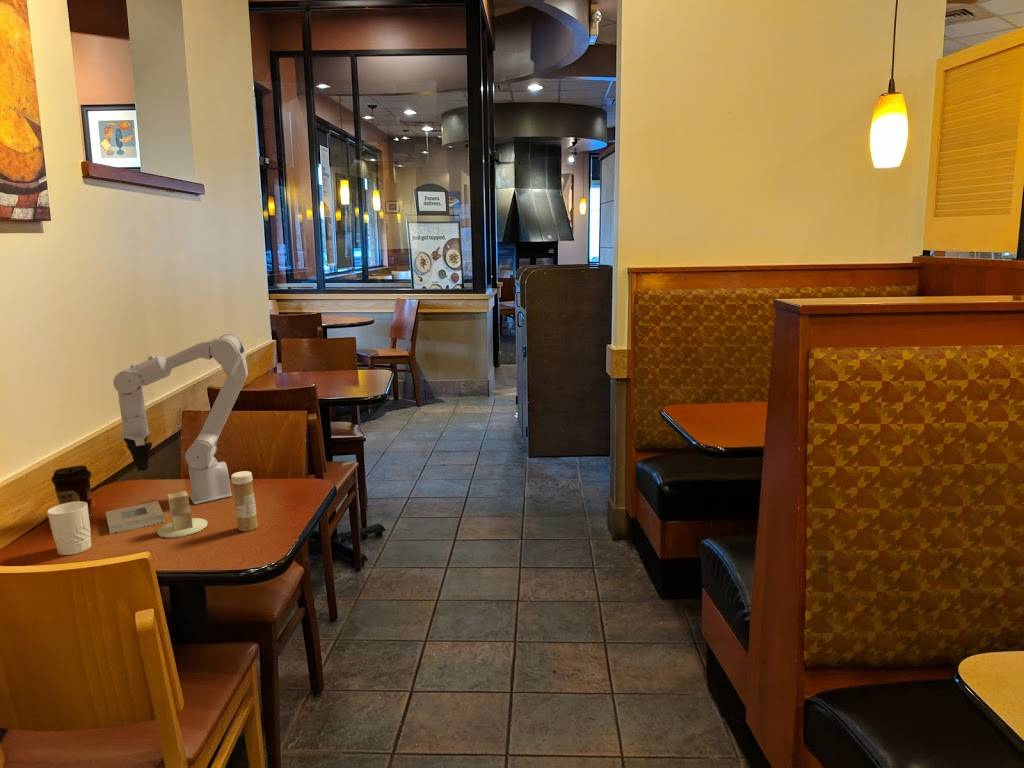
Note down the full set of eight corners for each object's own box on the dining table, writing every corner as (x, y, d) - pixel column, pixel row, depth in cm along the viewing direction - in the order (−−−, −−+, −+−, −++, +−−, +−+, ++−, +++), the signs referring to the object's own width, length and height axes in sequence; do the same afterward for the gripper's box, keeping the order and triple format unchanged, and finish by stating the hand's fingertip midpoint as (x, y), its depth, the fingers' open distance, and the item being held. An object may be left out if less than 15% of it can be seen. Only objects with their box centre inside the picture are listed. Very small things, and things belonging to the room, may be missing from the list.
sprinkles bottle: (234, 529, 179) (226, 474, 176) (251, 523, 182) (244, 469, 179) (245, 533, 176) (237, 477, 173) (262, 526, 179) (255, 472, 176)
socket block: (158, 508, 196) (157, 500, 196) (164, 521, 186) (163, 514, 186) (106, 519, 190) (105, 511, 190) (110, 534, 180) (108, 526, 180)
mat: (203, 516, 188) (203, 514, 188) (211, 530, 179) (211, 528, 179) (154, 527, 183) (154, 525, 183) (160, 542, 173) (160, 540, 173)
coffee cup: (79, 525, 187) (70, 474, 185) (51, 524, 189) (41, 474, 186) (105, 512, 196) (96, 463, 193) (77, 511, 197) (68, 463, 195)
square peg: (190, 522, 183) (185, 490, 182) (192, 527, 180) (188, 495, 178) (172, 526, 181) (167, 494, 180) (174, 531, 178) (169, 499, 176)
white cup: (65, 543, 176) (57, 502, 174) (100, 540, 176) (93, 500, 174) (48, 558, 168) (39, 515, 166) (85, 555, 169) (77, 512, 167)
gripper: (113, 412, 199) (121, 462, 201) (119, 423, 186) (126, 476, 189) (143, 408, 202) (150, 457, 205) (150, 418, 190) (157, 470, 193)
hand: (141, 466), depth 197 cm, fingers open, 7 cm apart
